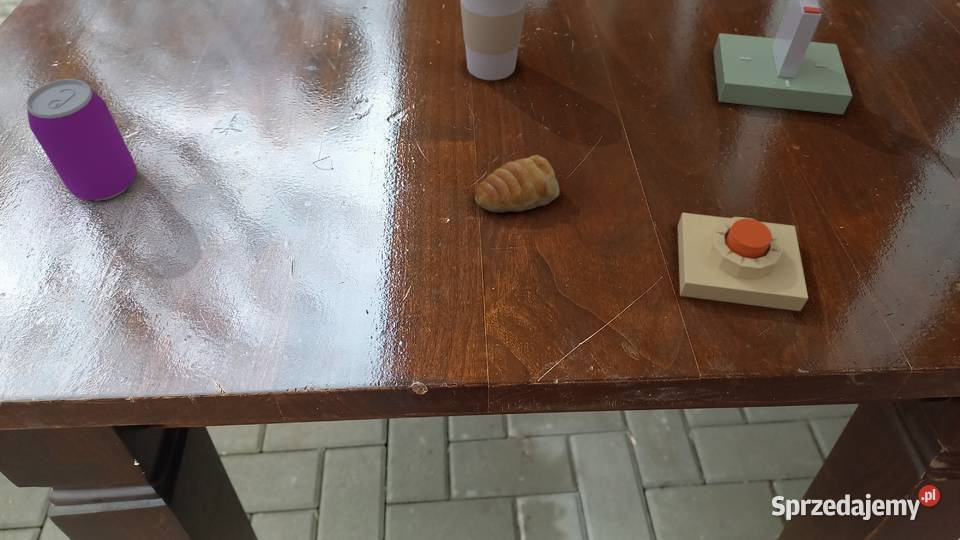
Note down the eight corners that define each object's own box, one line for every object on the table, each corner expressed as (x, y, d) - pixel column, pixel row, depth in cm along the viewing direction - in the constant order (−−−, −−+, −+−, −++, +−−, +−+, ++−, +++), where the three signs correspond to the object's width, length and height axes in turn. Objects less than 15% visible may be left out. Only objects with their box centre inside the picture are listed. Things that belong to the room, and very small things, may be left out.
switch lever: (771, 47, 95) (796, -18, 88) (788, 48, 95) (813, -16, 88) (777, 76, 91) (803, 11, 83) (794, 78, 90) (822, 13, 83)
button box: (787, 239, 76) (801, 213, 73) (800, 311, 70) (815, 286, 67) (677, 226, 77) (686, 200, 74) (680, 296, 71) (689, 271, 68)
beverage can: (116, 210, 78) (68, 125, 69) (55, 198, 79) (1, 112, 70) (152, 166, 83) (112, 80, 73) (95, 155, 84) (49, 70, 74)
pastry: (491, 227, 77) (492, 203, 74) (464, 190, 81) (463, 165, 78) (563, 200, 80) (566, 176, 77) (533, 166, 83) (535, 141, 81)
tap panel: (828, 62, 98) (837, 42, 96) (843, 114, 90) (853, 94, 88) (713, 51, 100) (719, 31, 97) (718, 102, 92) (725, 81, 89)
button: (764, 232, 72) (769, 220, 71) (768, 261, 69) (774, 249, 68) (724, 227, 72) (729, 216, 71) (727, 256, 70) (732, 244, 68)
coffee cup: (534, 58, 98) (543, -47, 86) (506, 92, 93) (511, -15, 81) (477, 41, 100) (478, -63, 89) (447, 73, 95) (444, -33, 84)
